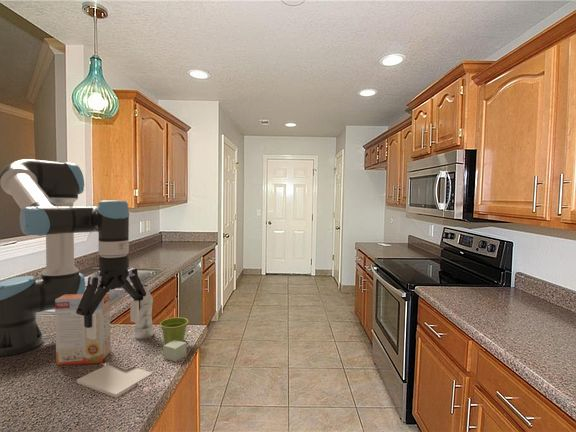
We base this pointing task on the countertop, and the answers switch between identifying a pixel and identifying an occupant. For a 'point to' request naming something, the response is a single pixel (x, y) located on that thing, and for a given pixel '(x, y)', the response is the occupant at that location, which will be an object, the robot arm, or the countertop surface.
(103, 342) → the cracker box
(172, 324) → the plant pot
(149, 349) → the countertop surface
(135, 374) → the board
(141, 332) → the plastic bottle
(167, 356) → the sage block
